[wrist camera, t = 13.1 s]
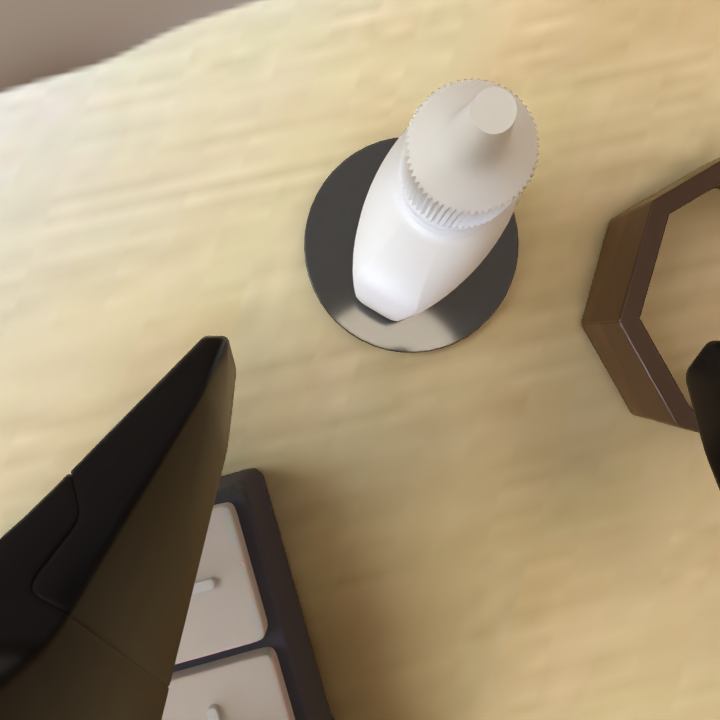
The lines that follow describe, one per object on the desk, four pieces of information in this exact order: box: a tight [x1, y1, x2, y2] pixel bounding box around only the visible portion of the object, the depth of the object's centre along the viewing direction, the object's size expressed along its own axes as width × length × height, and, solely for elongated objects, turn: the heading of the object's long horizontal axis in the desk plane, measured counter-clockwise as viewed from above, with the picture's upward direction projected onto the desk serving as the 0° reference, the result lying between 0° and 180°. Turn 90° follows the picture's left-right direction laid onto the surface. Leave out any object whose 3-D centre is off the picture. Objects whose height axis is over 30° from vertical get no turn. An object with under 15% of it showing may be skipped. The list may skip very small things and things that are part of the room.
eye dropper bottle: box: [353, 79, 540, 322], centre depth 13 cm, size 4×6×12 cm
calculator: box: [162, 469, 334, 720], centre depth 19 cm, size 11×4×15 cm
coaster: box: [304, 138, 518, 353], centre depth 20 cm, size 8×8×1 cm
